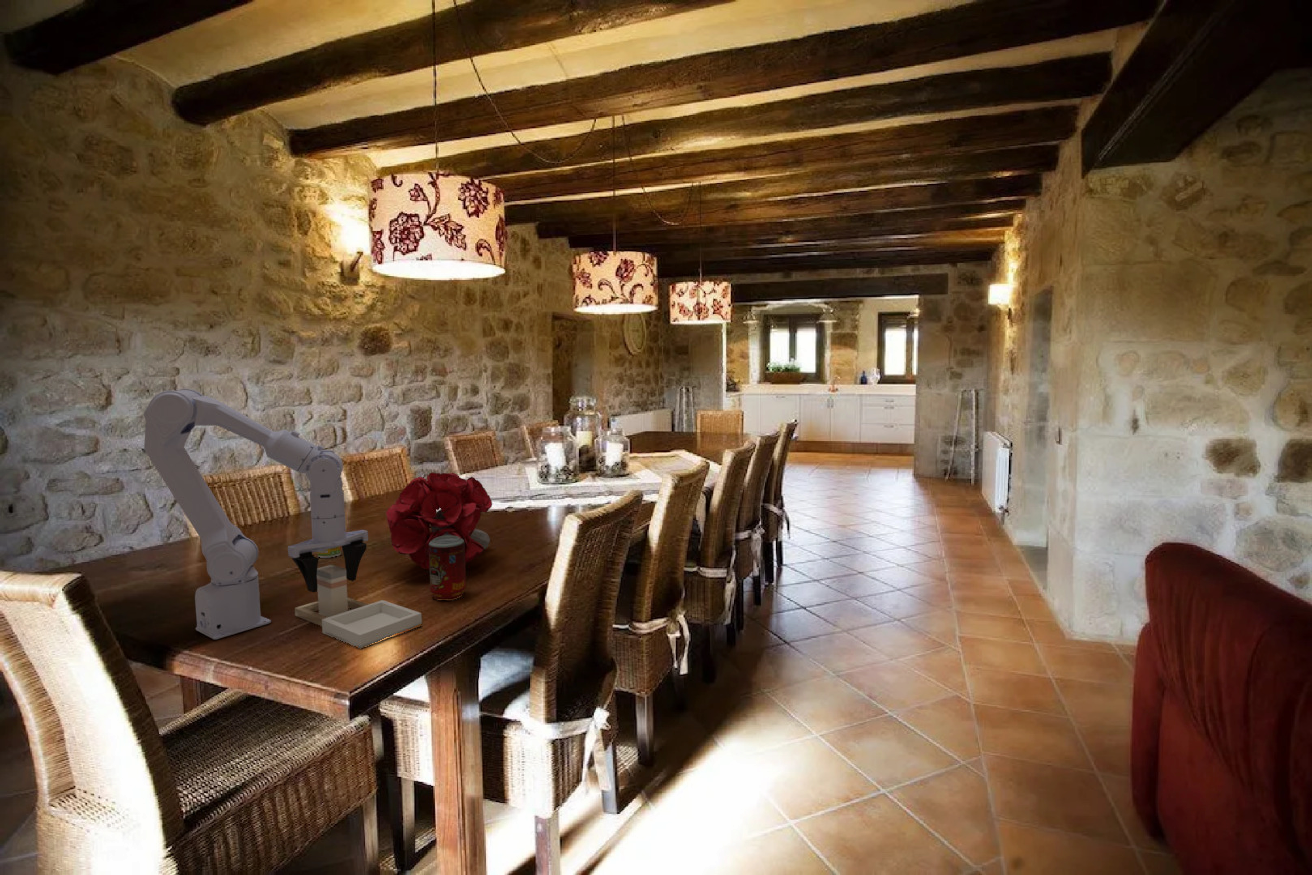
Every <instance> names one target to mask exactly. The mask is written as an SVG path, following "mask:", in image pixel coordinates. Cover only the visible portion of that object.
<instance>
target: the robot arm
mask: <svg viewBox="0 0 1312 875" xmlns="http://www.w3.org/2000/svg"><path fill="white" fill-rule="evenodd" d="M143 416H144V421H145V425H144V426H145V427H144V428H145V429H144V443H143V444H144V445H143V449H144V451H145V453H146V455H147V456H148V458H149V460H150V462H151V463H152V465H153V466H154V467H155V469H156V471H157V472H158V473H159V475H160V477H161V478H162V480H163V482H164V483H165V485H166V486H167V488H168V489H169V491H170V492H171V494H172V495H173V498H174V499H175V500H176V502H177V504H178V505H179V506H180V508H181V509H182V511H183V513H184V514H185V516H186V518H187V519H188V521H189V522H190V524H191V525H192V527H193V529H194V531H195V532H196V533H197V535H198V537H199V539H200V545H201V553H202V554H203V556H204V558H205V560H206V571H207V574H208V576H209V577H210V582H209V583H207V584H206V585H204V586H199V587H198V588H197V589H196V590H195V594H194V602H195V603H194V604H195V615H196V627H195V631H197V632H199V633H200V634H203V635H204V636H207V637H209V638H210V639H212V640H219V639H221V638H223V639H224V638H225V637H229V636H232V635H235V634H239V633H242V632H245V631H248V630H252V629H255V628H257V627H262V626H265V625H269V624H270V623H271V622H272V620H271V619H269V618H267V617H264V616H262V614H261V600H260V597H261V596H260V587H259V585H260V584H259V573H258V571H257V570H256V569H255V566H253V565H254V564H255V563H256V562H257V560H258V557H259V548H258V546H257V543H255V541H254V540H252V539H250V538H248V537H246V535H244V534H243V532H242V530H241V529H240V528H239V527H238V526H236V525H235V524H234V523H232V522H231V521H230V519H229V517H228V516H227V514H226V513H225V511H224V510H223V508H222V506H221V505H220V503H219V501H218V500H217V498H216V497H215V494H214V493H213V491H212V490H211V488H210V487H209V485H208V484H207V482H206V480H205V478H204V477H203V476H202V474H201V473H200V471H199V469H198V467H197V466H196V464H195V463H194V462H193V459H192V457H191V456H190V455H189V453H188V451H187V449H186V448H185V445H186V443H187V440H188V439H189V437H190V434H191V432H192V430H193V429H194V428H195V427H196V426H197V427H198V426H199V427H200V426H201V427H203V426H213V427H215V426H216V427H219V428H222V429H224V430H227V431H229V432H230V433H233V434H235V435H237V436H238V437H239V436H240V437H241V438H244V439H246V440H249V441H251V442H253V443H254V444H257V445H259V446H261V447H263V449H264V452H265V454H266V457H267V458H269V459H272V460H273V461H275V462H277V463H279V464H281V465H284V467H286V468H289V469H291V470H293V471H295V472H297V473H299V474H305V476H306V478H307V480H308V481H309V485H310V492H309V501H310V504H309V505H310V517H311V518H310V520H311V535H312V538H311V539H308V540H304V541H301V542H299V543H295V544H292V545H288V546H287V551H288V552H287V553H288V554H287V555H288V557H289V558H291V559H292V561H293V562H294V563H295V565H296V566H297V568H298V569H299V571H300V574H301V575H302V577H303V579H304V582H305V585H306V588H307V591H309V592H311V593H316V592H317V593H318V589H317V587H318V586H317V568H318V567H319V566H318V564H319V561H320V560H319V557H318V556H317V557H316V556H315V554H313V553H317V552H318V551H322V550H326V549H330V548H334V547H339V546H341V551H342V553H343V557H344V558H343V560H344V566H345V568H344V569H346V574H347V575H346V579H347V581H351V582H353V581H354V582H355V581H356V580H357V575H358V571H359V570H358V569H359V566H360V563H361V560H362V557H363V556H364V554H365V552H366V550H367V543H366V542H368V540H369V532H368V530H364V529H359V530H353V531H348V532H347V531H346V530H347V528H346V512H345V494H344V490H343V480H342V479H343V478H342V477H341V476H342V472H343V471H344V470H343V469H344V462H343V460H342V458H341V457H340V456H339V455H338V454H337V453H336V452H335V451H334V450H331V449H324V448H325V446H323V445H321V444H318V445H316V444H314V443H312V442H310V441H308V440H306V439H304V438H302V437H300V434H301V433H300V432H299V431H296V430H294V429H293V430H292V431H289V430H288V429H282V430H277V431H274V430H272V429H270V428H268V427H266V426H265V425H263V424H262V423H259V422H257V421H256V420H254V419H252V418H250V417H248V416H247V415H245V414H244V413H242V412H240V411H238V410H236V409H234V408H232V407H231V406H229V405H228V404H226V403H223V402H222V401H220V400H218V399H216V398H215V397H214V398H213V397H211V396H208V395H203V394H201V393H200V392H199V391H197V390H195V389H192V388H191V389H190V388H181V389H177V390H165V391H164V390H163V391H161V392H159V393H157V394H155V395H154V396H153V397H152V398H151V400H150V401H149V403H148V405H147V407H146V408H145V410H144V411H143Z"/></svg>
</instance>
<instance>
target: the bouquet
mask: <svg viewBox="0 0 1312 875" xmlns="http://www.w3.org/2000/svg"><path fill="white" fill-rule="evenodd" d="M492 507H493V501H492V499H491V496H490V495H489V494H488V492H487V490H486V489H485V487H484V486H483V484H482V483H481V482H480V480H478V479H476V478H475V477H474V476H470V477H467V479H465V478H462V477H460V475H459V474H457V473H455V472H450V473H449V472H448V473H445V472H442V473H440V472H439V473H438V472H437V473H436V472H429V473H428V474H427V475H426V478H425V477H422V476H418V477H416V478H413V479H412V480H410V481H409V483H408V484H407V485H406V486H405V487H404V488H403V489H402V490H401V492H400V494H399V497H397V499H396V500H395V503H393V504H392V505H391V506H390V507H388V508H387V510H386V511H385V516H386V522H387V525H388V528H389V532H390V540H391V546H392V548H393V549H394V551H395V552H397V553H398V554H400V555H404V556H405V555H408V556H409V557H410V559H411V561H412V562H413V563H414V564H417V565H418V566H419V567H421V568H422V569H424V570H427V569H429V570H428V571H430V567H429V543H430V542H431V541H432V540H433V539H434V538H437V537H441V536H458V537H460V538H461V539H463V540H464V542H465V564H467V563H470V562H471V561H473V560H474V559H476V558H477V557H479V556H480V555H481V554H482V553H483V551H484V550H486V549H487V548H488V547H489V544H490V543H491V542H490V541H491V540H490V535H488V533H487V532H485V531H483V530H481V529H479V528H476V527H477V524H478V523H479V521H480V520H481V515H482V513H488V511H489V510H490V509H491V508H492Z"/></svg>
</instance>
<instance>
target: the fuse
mask: <svg viewBox="0 0 1312 875" xmlns="http://www.w3.org/2000/svg"><path fill="white" fill-rule="evenodd" d="M346 575H347V574H346V569H345V568H344V567H340V566H337V565H333V564H329V565H326V566H321V567H317V586H318V587H317V601H318V606H319V610H318V614H320V615H323V616H326V617H331V616H335V615H338V614H341V613H344V612H347V611H349V608H348V601H347V597H348V580H347V578H346Z"/></svg>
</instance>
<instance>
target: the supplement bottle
mask: <svg viewBox="0 0 1312 875" xmlns="http://www.w3.org/2000/svg"><path fill="white" fill-rule="evenodd" d="M316 553H317V558H319V557H320V559H332V558H331V557H333V558H336V557H335V556H337V557H339V556H340V555H341V554H342V547H341V546H339V547H334V548H330V549H326V550H322V551H318V552H316Z"/></svg>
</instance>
